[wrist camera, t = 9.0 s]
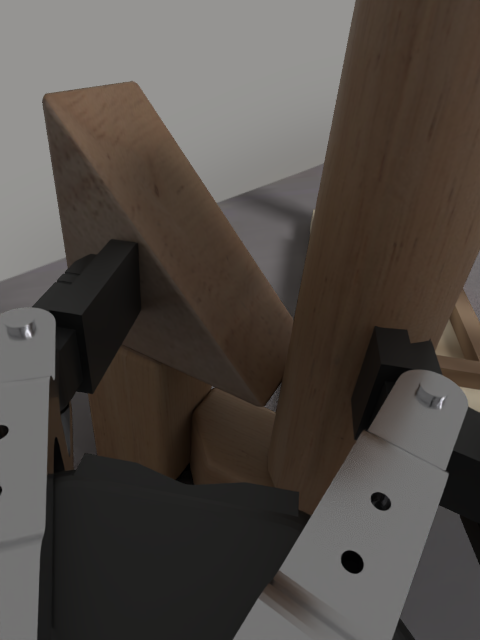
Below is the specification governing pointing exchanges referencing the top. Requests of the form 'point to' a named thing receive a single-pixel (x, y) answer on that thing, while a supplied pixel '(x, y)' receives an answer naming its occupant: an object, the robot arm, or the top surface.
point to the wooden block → (246, 277)
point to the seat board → (460, 349)
